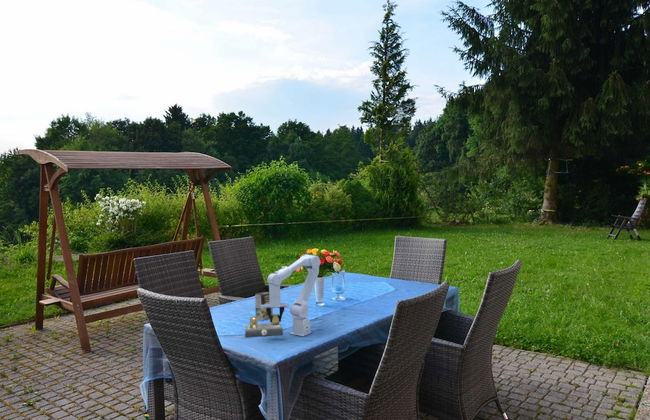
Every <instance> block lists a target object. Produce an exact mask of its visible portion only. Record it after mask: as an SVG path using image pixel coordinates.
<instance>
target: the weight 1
mask: <svg viewBox="0 0 650 420" xmlns="http://www.w3.org/2000/svg"><path fill="white" fill-rule="evenodd" d="M258 321H259V320H258V317H256V316H251V317H249V325H250V327H251V328H255V327H258V324H259V322H258Z"/></svg>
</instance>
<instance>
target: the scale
mask: <svg viewBox="0 0 650 420" xmlns="http://www.w3.org/2000/svg"><path fill="white" fill-rule="evenodd" d="M283 335H284V334H283V326H282V324H281V323H280V324H279V325H271V322H268V323H258V327H255V328H251V327H250V324H247V325H245V338H253V337H255V338H256V337H268V336H269V337H272V336H283Z"/></svg>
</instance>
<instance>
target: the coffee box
mask: <svg viewBox="0 0 650 420" xmlns="http://www.w3.org/2000/svg"><path fill="white" fill-rule="evenodd" d="M254 296H255V297H254V298H255V300H254V301H255V307H254V308H255V317H258V321H259V322H260V321H262V322H263V321H267V320H270V319H269V316H268V313H267V311H266V309H261V305H265V304H270V296H269V291H262V292H257V293H255V295H254ZM273 310H274V308H271V315H272V314H274V313H273V312H274V311H273Z"/></svg>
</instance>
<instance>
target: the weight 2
mask: <svg viewBox="0 0 650 420" xmlns="http://www.w3.org/2000/svg"><path fill="white" fill-rule="evenodd" d="M270 323H271V325H279V324H281V323H280V313H273V314H272V315H271V322H270Z"/></svg>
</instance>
